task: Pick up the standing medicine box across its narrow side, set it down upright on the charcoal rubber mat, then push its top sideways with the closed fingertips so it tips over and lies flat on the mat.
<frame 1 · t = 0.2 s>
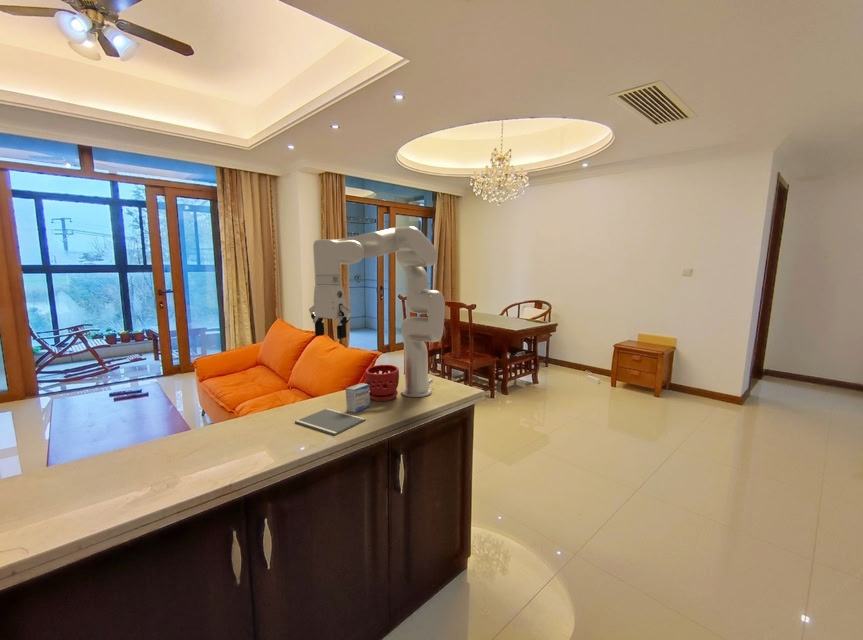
hand: (330, 336, 120), 31 cm above the worktop, fingers open, 9 cm apart
plant pot: (383, 398, 155), on the worktop
mat: (330, 421, 132), on the worktop
medicine box: (358, 409, 144), on the worktop
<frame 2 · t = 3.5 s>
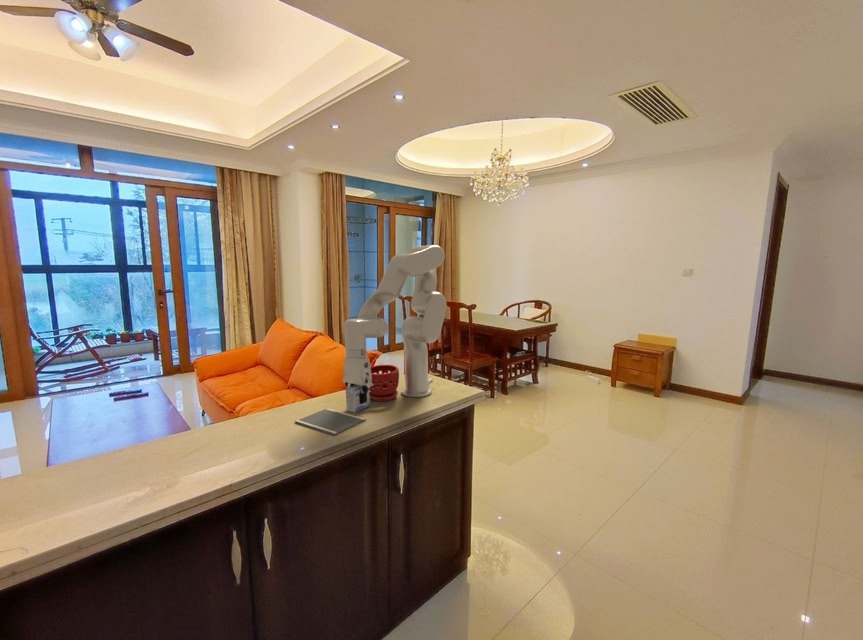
hand: (358, 401, 143), 3 cm above the worktop, fingers closed on medicine box, 4 cm apart
medicine box: (358, 409, 144), on the worktop, touching gripper
everything else where it was.
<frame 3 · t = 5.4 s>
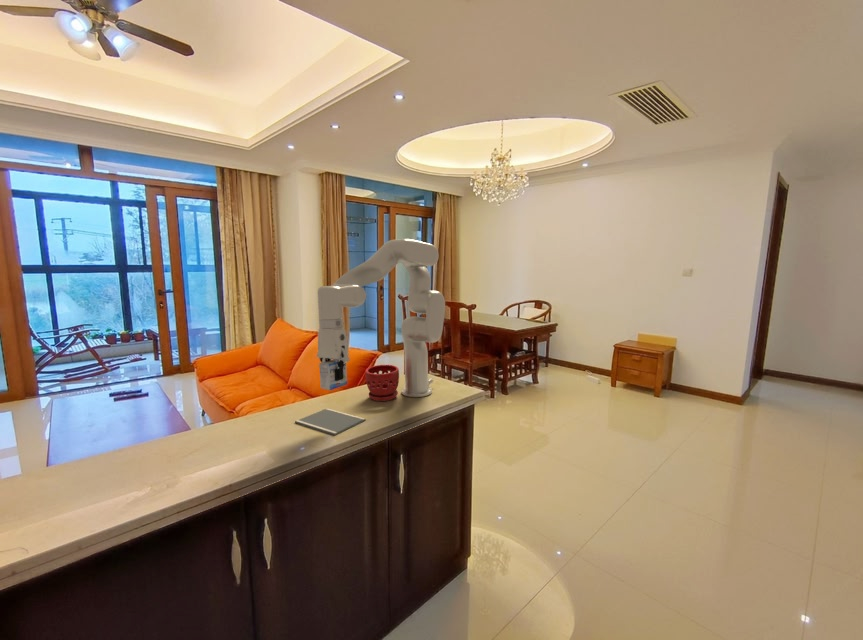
hand: (333, 378, 129), 16 cm above the worktop, fingers closed on medicine box, 4 cm apart
medicine box: (334, 387, 129), point 12 cm above the worktop, touching gripper
everything else where it was.
when the fingers open (4 cm above the worktop, at t = 7.7 s): medicine box stays where it is, resting on mat.
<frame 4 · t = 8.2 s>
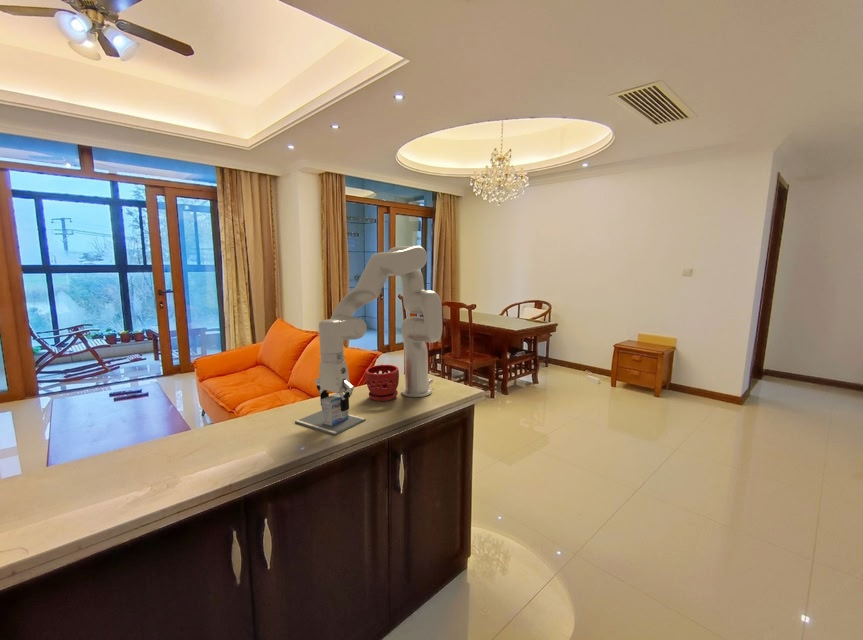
hand: (334, 407, 130), 6 cm above the worktop, fingers open, 9 cm apart
medicine box: (335, 421, 131), resting on mat
everything else where it was.
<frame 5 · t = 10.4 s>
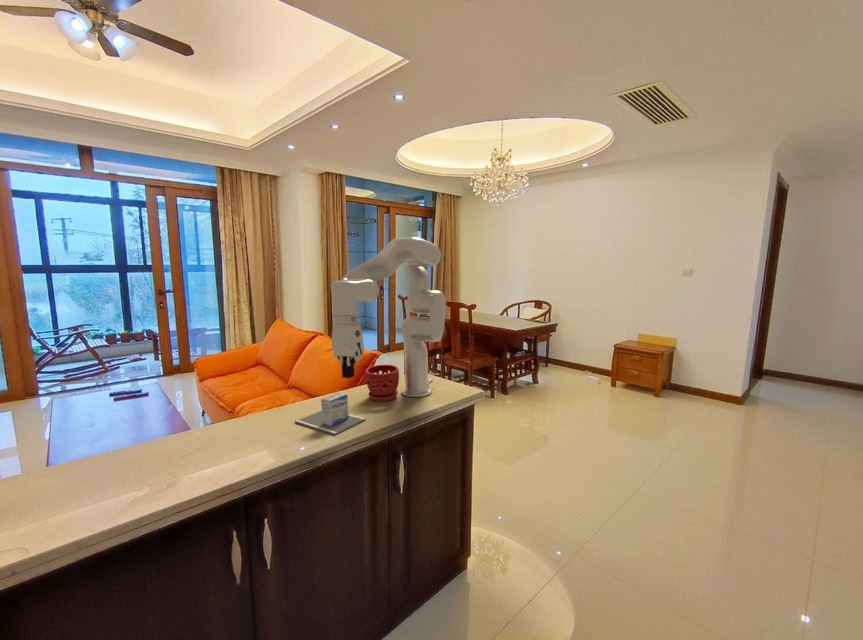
hand: (348, 376, 124), 17 cm above the worktop, fingers closed
nothing on the worktop moved.
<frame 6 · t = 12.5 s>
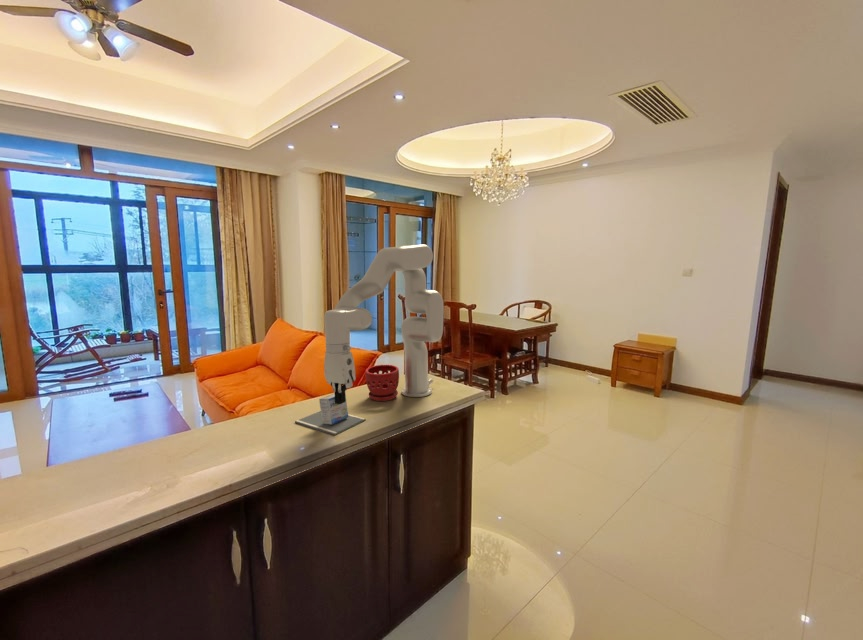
hand: (340, 402, 128), 8 cm above the worktop, fingers closed
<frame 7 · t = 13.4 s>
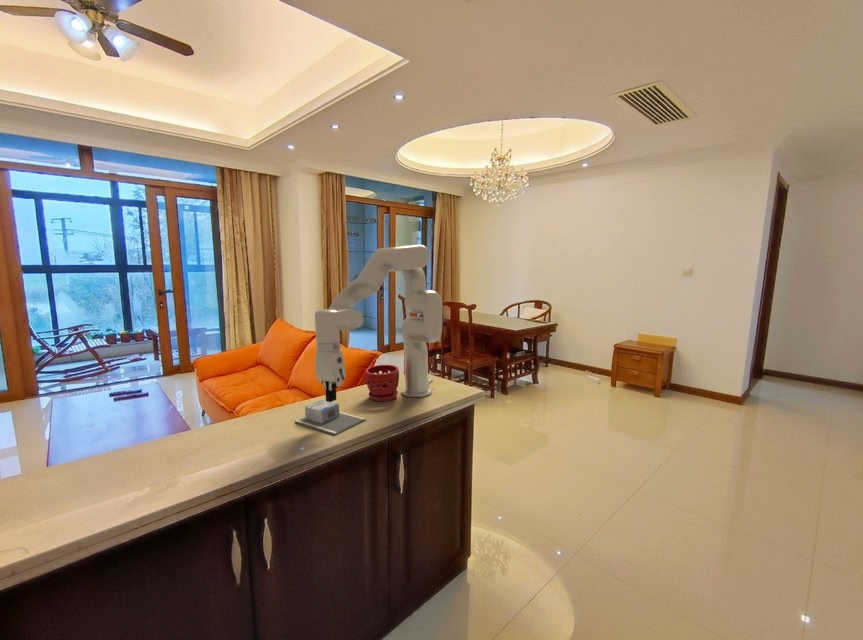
hand: (331, 400, 130), 8 cm above the worktop, fingers closed
medicine box: (331, 414, 131), point 3 cm above the worktop, touching mat
everything else where it was.
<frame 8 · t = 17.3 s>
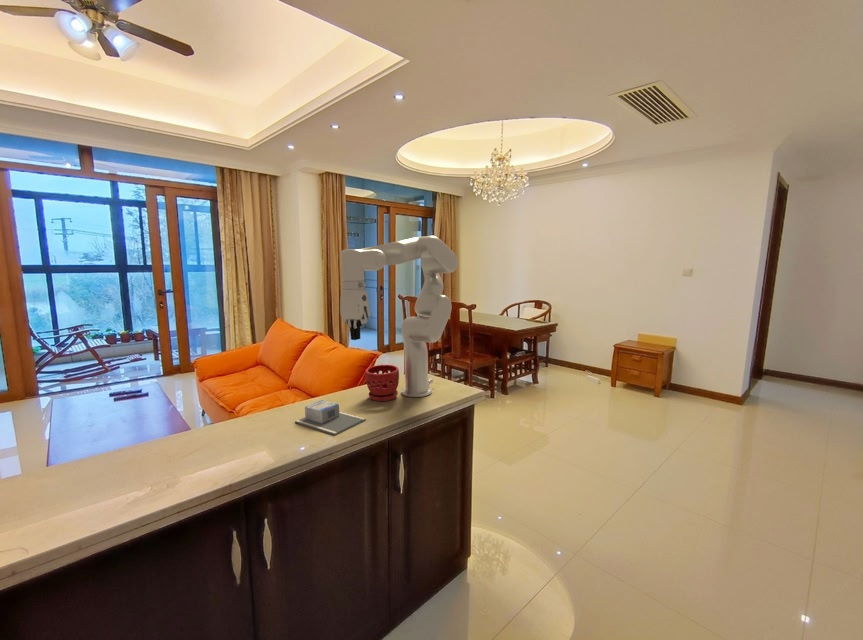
hand: (355, 339, 134), 27 cm above the worktop, fingers closed
nothing on the worktop moved.
at the end: medicine box tilted 89°; medicine box inside the target area (3.0 cm from its centre), point 2.8 cm above the worktop; the gripper is holding nothing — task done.
